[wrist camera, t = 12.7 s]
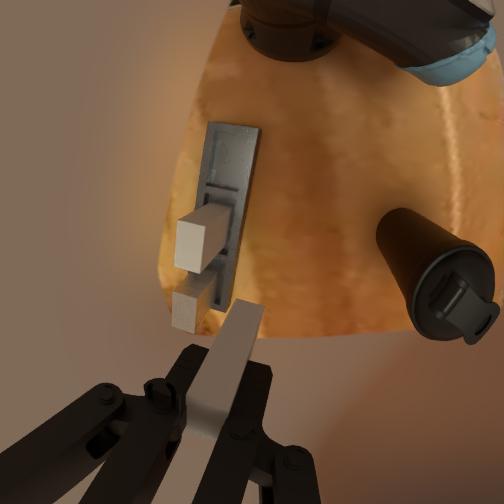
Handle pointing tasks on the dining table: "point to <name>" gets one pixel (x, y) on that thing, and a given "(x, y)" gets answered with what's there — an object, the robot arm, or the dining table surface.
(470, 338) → the water bottle
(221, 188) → the rack
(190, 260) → the block
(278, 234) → the dining table surface
